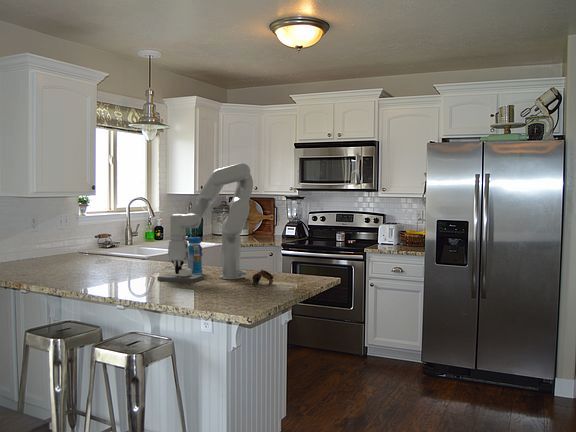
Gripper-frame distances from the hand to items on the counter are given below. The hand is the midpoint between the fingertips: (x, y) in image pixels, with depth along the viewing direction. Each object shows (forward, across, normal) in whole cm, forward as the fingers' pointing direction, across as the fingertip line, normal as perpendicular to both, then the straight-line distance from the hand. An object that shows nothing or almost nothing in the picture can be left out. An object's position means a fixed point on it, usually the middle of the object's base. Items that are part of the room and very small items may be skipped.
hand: (178, 273), depth 267 cm
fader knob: (+1, -4, 0) cm, 4 cm away
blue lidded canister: (+3, +1, -19) cm, 19 cm away
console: (+3, -1, 0) cm, 3 cm away
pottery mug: (+3, -46, +1) cm, 46 cm away
